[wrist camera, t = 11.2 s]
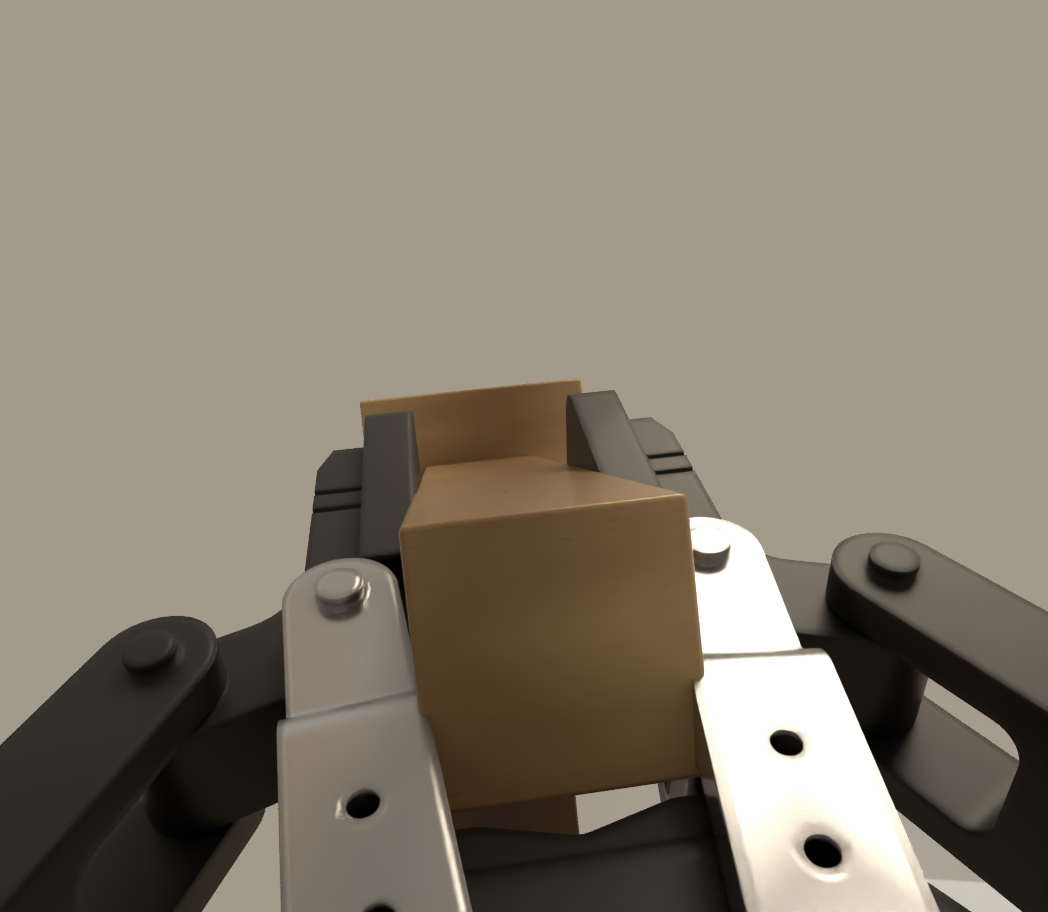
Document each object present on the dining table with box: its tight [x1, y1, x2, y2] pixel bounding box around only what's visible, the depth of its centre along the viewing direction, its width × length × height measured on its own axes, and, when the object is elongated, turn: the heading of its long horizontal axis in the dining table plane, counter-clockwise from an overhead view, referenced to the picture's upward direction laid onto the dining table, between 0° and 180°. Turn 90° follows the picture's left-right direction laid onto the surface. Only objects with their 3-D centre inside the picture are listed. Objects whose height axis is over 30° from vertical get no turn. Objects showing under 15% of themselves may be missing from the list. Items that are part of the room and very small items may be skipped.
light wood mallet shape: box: [360, 379, 705, 814], centre depth 16 cm, size 5×18×4 cm, turn 6°
